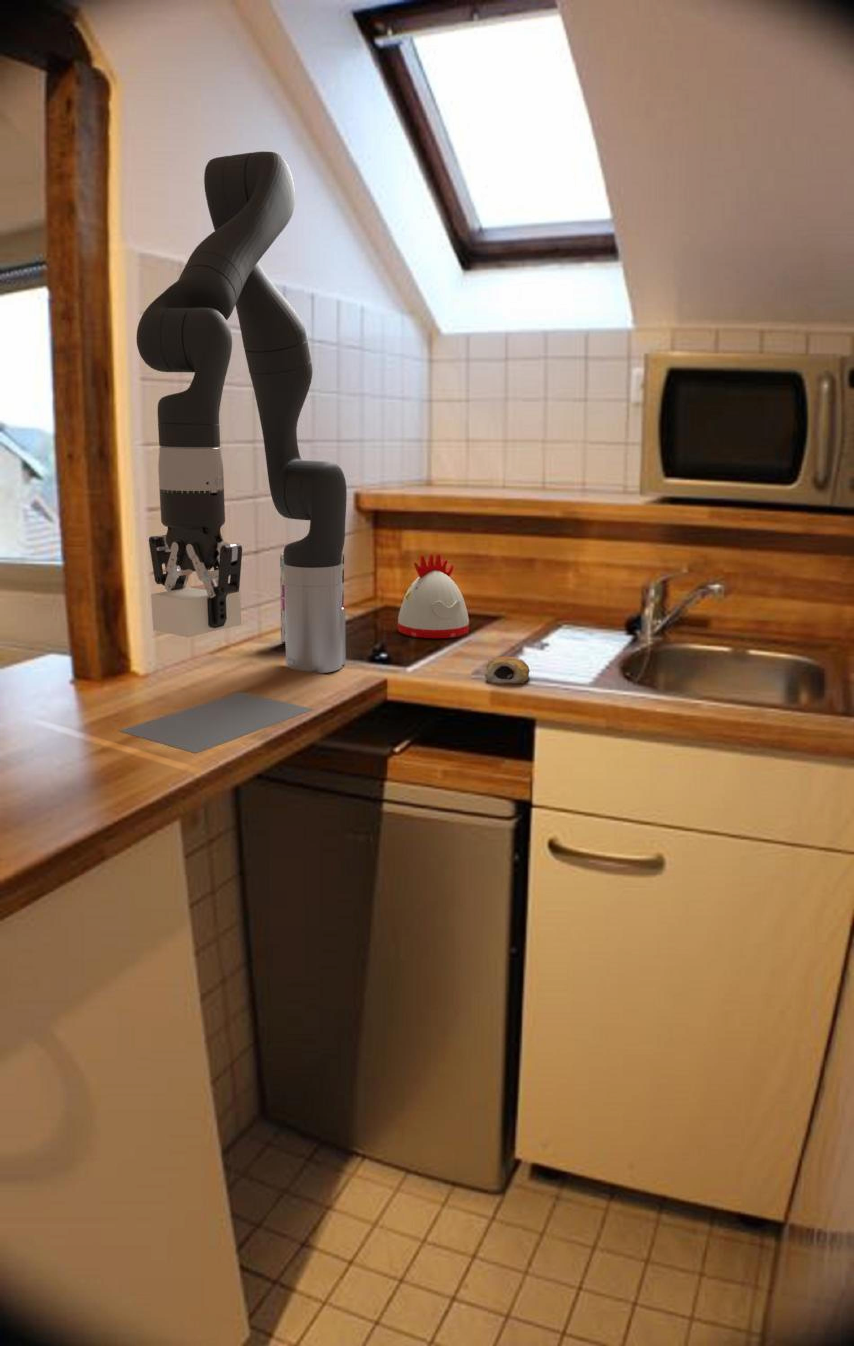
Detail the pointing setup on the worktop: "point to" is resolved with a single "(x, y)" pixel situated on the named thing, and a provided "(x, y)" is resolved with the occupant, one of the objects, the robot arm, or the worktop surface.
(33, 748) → the worktop surface
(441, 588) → the kitchen timer
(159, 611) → the card deck
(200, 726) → the mat
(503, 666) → the pastry
